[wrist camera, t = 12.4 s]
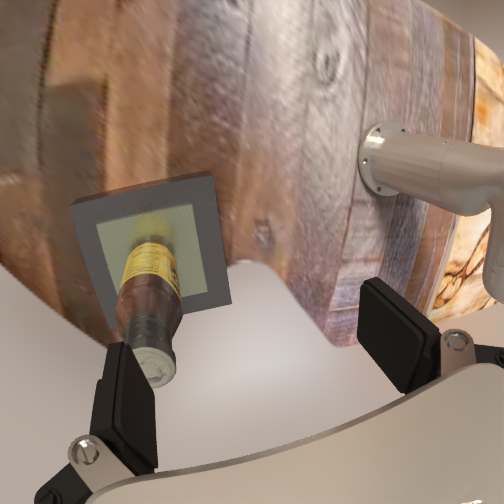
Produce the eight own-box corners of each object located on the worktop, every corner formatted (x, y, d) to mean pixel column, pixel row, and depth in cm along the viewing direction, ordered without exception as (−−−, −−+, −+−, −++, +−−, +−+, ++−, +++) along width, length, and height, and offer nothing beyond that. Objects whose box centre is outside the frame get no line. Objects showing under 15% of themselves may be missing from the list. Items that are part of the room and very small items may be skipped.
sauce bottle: (170, 287, 39) (184, 408, 21) (124, 279, 36) (104, 398, 19) (181, 240, 37) (201, 346, 19) (132, 230, 34) (105, 332, 17)
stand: (208, 170, 39) (213, 175, 35) (226, 290, 46) (232, 305, 42) (77, 198, 35) (68, 206, 31) (113, 313, 42) (109, 330, 38)
